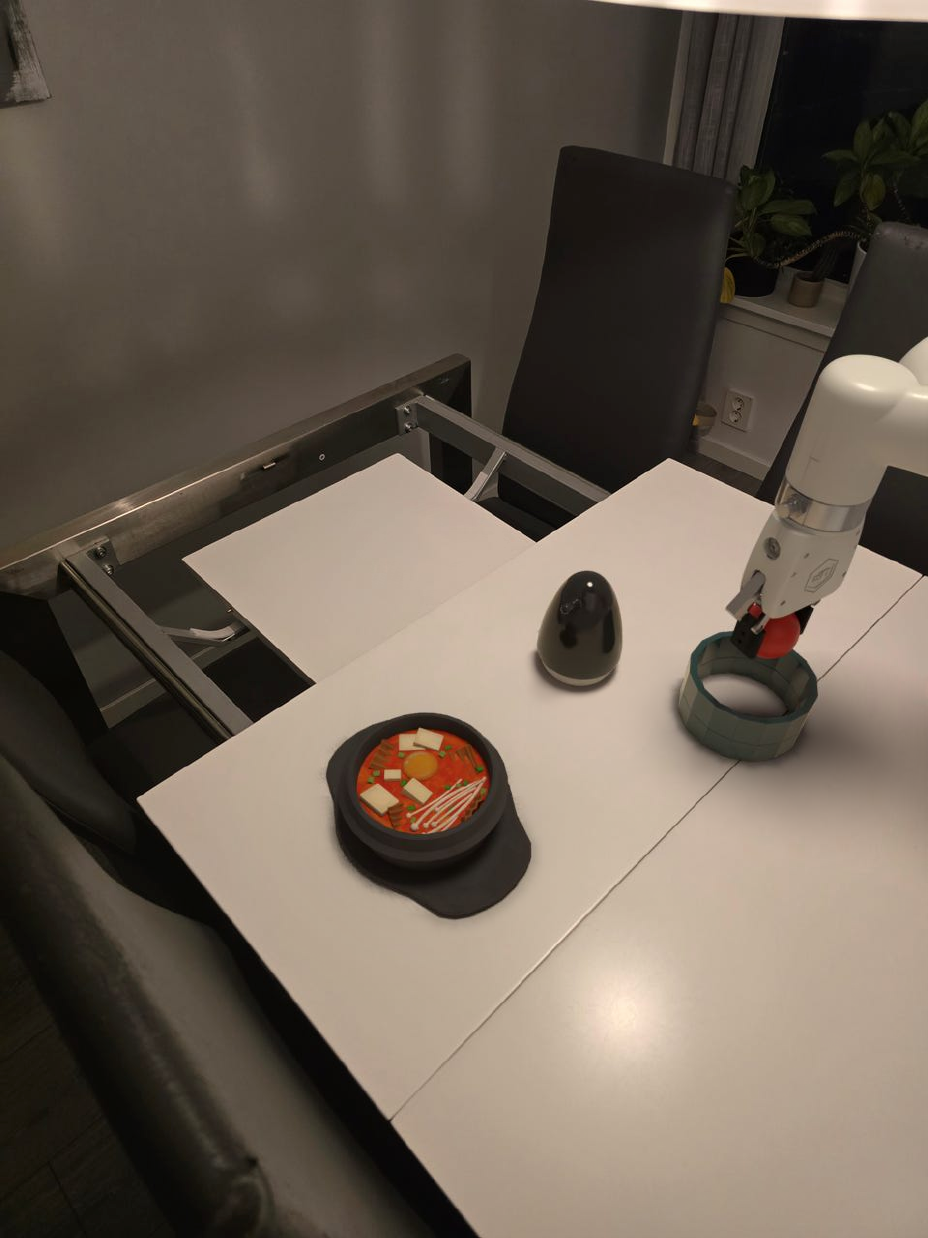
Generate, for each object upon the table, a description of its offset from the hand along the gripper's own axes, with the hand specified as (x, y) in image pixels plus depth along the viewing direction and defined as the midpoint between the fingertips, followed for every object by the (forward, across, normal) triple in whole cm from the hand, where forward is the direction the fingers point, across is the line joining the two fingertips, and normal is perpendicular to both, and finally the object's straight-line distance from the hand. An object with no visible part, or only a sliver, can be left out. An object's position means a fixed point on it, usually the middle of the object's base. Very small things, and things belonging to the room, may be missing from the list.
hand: (766, 637), depth 82 cm
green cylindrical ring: (+14, 0, 0) cm, 14 cm away
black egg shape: (+14, -11, +16) cm, 24 cm away
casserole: (+14, -38, +7) cm, 41 cm away
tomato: (-1, 0, 0) cm, 1 cm away
